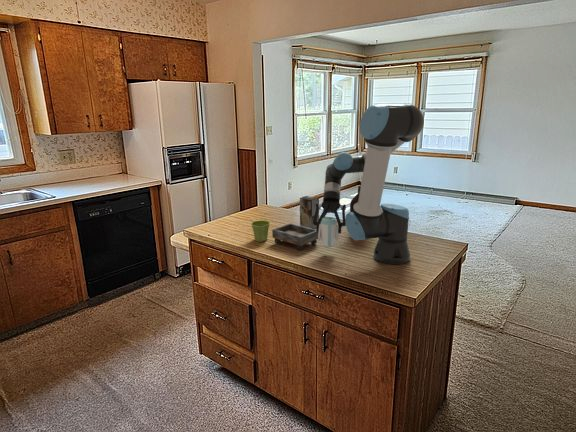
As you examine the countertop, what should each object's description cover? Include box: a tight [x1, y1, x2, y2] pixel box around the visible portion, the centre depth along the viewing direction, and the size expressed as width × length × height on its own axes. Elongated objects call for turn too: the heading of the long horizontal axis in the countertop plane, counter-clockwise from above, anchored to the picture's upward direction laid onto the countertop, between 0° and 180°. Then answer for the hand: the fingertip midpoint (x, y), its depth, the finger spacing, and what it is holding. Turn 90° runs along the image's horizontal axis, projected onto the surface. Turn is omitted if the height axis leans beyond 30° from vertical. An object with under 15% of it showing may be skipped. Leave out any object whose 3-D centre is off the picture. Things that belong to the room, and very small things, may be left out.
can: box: [320, 216, 338, 248], centre depth 164 cm, size 7×7×12 cm
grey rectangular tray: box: [271, 222, 318, 252], centre depth 179 cm, size 18×13×7 cm
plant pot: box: [250, 219, 271, 243], centre depth 185 cm, size 9×9×9 cm
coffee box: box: [299, 195, 320, 229], centre depth 204 cm, size 9×6×16 cm
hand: (327, 239), depth 162 cm, fingers closed on can, 7 cm apart
